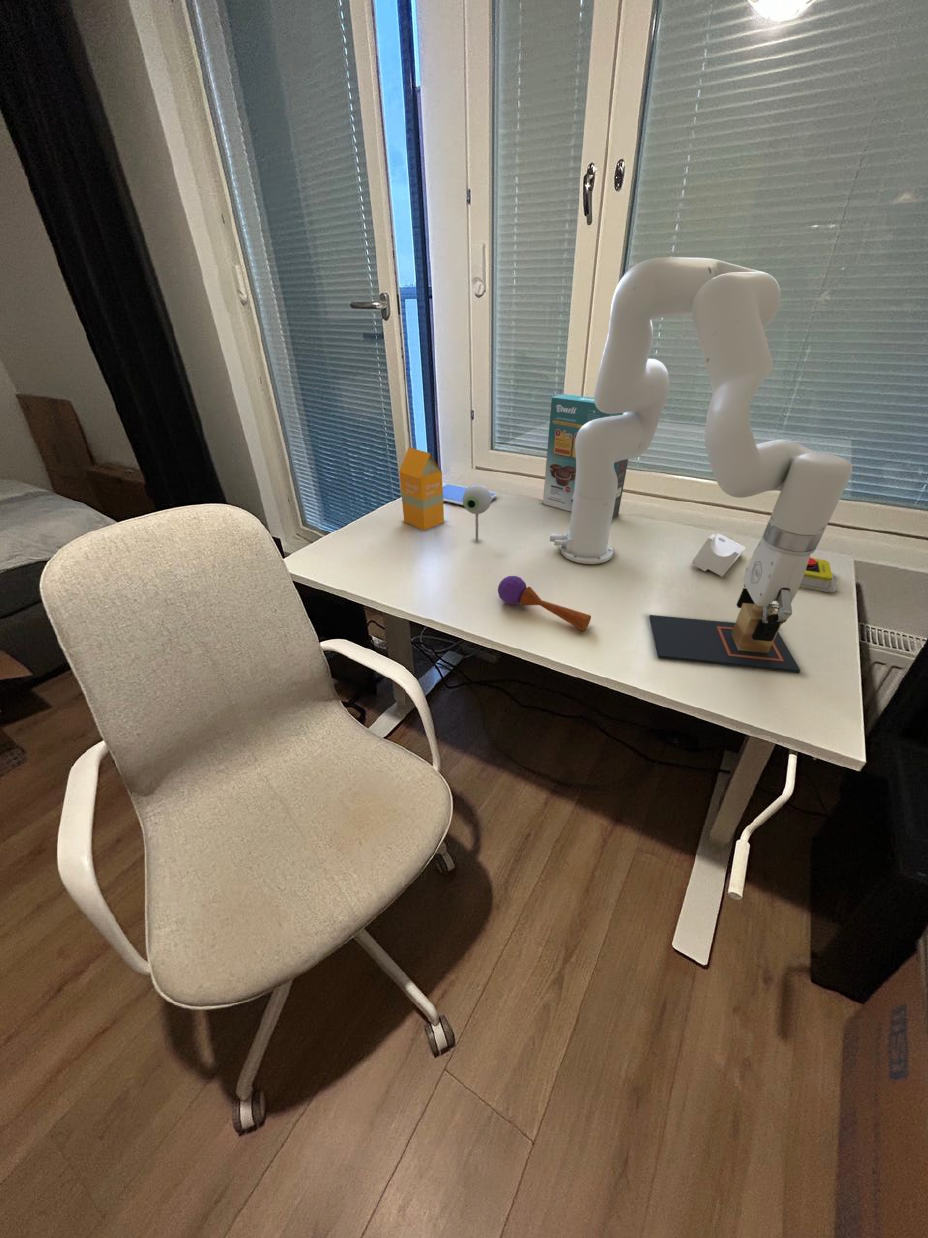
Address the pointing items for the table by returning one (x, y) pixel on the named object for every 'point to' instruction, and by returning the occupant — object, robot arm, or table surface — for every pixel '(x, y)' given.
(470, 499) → the eyeball on stand
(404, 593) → the table surface
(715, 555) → the bracket
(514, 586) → the kendama
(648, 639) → the table surface
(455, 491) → the tablet
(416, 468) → the orange juice
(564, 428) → the cake mix box
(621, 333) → the robot arm
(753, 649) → the piece
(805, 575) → the emergency button
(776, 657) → the desk mat
